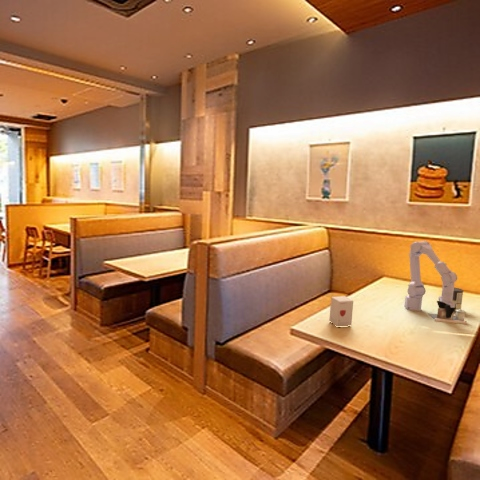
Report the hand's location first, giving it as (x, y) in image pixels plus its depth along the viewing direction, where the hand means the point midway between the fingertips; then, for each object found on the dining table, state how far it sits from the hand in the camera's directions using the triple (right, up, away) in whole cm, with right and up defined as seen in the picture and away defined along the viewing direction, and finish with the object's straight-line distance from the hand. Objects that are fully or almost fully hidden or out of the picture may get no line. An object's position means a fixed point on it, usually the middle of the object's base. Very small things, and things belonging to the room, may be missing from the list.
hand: (444, 315), depth 212 cm
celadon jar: (+7, -3, -2) cm, 8 cm away
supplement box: (-64, -3, -10) cm, 65 cm away
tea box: (0, -2, 0) cm, 2 cm away
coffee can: (+15, -1, +18) cm, 23 cm away
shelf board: (+2, -3, +2) cm, 4 cm away
